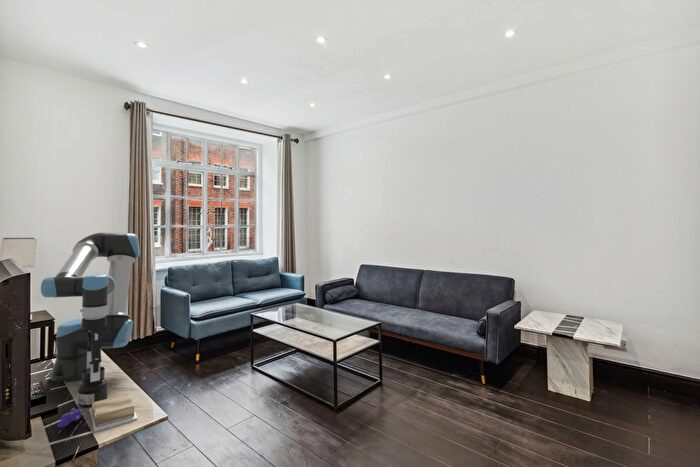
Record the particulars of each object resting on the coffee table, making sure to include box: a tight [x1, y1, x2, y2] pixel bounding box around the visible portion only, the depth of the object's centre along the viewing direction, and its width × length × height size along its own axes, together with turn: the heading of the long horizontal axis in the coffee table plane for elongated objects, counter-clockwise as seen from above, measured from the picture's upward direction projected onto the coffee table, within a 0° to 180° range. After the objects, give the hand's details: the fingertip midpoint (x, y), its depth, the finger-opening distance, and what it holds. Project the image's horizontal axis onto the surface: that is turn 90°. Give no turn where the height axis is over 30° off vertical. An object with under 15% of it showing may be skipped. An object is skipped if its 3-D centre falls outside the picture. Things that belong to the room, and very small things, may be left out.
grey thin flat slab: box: [88, 407, 138, 432], centre depth 122 cm, size 16×12×1 cm
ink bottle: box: [77, 366, 109, 408], centre depth 129 cm, size 10×9×12 cm
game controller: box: [49, 407, 91, 434], centre depth 114 cm, size 10×8×10 cm
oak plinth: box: [91, 393, 135, 426], centre depth 122 cm, size 11×11×3 cm
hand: (93, 374), depth 129 cm, fingers open, 13 cm apart
